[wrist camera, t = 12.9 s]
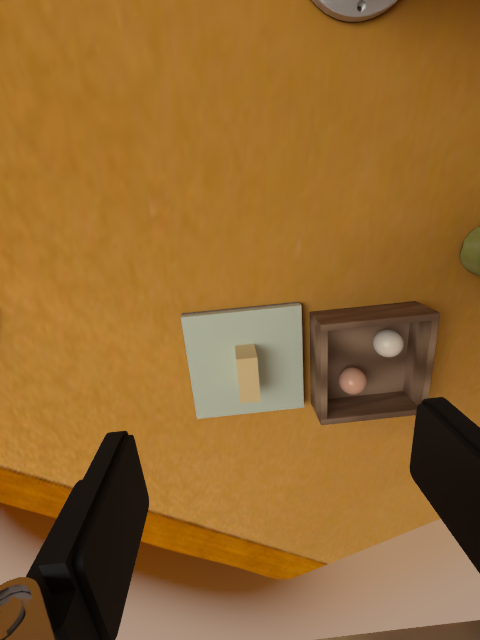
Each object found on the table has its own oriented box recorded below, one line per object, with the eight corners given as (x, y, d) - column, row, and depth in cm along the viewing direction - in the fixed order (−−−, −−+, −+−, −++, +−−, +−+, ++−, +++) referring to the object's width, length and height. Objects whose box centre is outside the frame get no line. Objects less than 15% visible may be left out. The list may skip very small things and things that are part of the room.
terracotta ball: (334, 363, 43) (344, 377, 40) (360, 361, 43) (372, 374, 40) (334, 386, 44) (343, 401, 41) (359, 384, 44) (370, 398, 41)
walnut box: (309, 311, 41) (321, 325, 36) (415, 301, 41) (439, 313, 37) (311, 402, 46) (321, 425, 41) (405, 392, 46) (426, 413, 41)
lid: (181, 314, 40) (176, 329, 35) (299, 303, 40) (310, 315, 35) (197, 414, 45) (194, 438, 40) (302, 403, 45) (311, 425, 40)
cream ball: (368, 326, 42) (381, 337, 38) (395, 324, 42) (411, 334, 38) (367, 351, 43) (380, 363, 39) (393, 348, 43) (408, 360, 39)
